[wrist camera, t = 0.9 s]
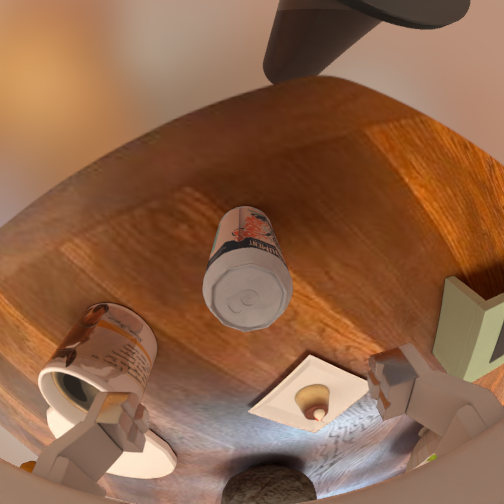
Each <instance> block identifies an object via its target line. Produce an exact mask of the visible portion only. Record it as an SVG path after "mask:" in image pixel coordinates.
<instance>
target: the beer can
mask: <svg viewBox="0 0 504 504" xmlns="http://www.w3.org/2000/svg"><path fill="white" fill-rule="evenodd" d="M292 291H293V285H292V278H291V276H290V273H289V270H288V268H287V265H286V262H285V260H284V257H283V254H282V251H281V249H280V246H279V243H278V241H277V238H276V235H275V233H274V230H273V227H272V225H271V222H270V220H269V219H268V217H267V216H266V215H265V214H264V213H263V212H262V211H260V210H259V209H256V208H253V207H249V206H241V207H237V208H234V209H232V210H230V211H229V212H228V213H226V214H225V216H224V217H223V218H222V220H221V221H220V223H219V226H218V230H217V233H216V237H215V240H214V244H213V248H212V251H211V255H210V258H209V262H208V266H207V269H206V273H205V277H204V280H203V296H204V299H205V302H206V305H207V306H208V308H209V310H210V311H211V312H212V313H213V314H214V315H215V316H216V317H217V318H218V319H219V320H220V321H221V323H222V324H223V325H225V326H228V327H231V328H234V329H237V330H240V331H243V332H248V331H253V330H258V329H263V328H268V327H269V326H270V325H271V324H272V323H273V322H274V321H275V320H276V319H277V318H279V317H280V316H281V315H282V314H283V313H284V310H285V309H286V308H287V307H288V305H289V302H290V300H291V296H292Z"/></svg>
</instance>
